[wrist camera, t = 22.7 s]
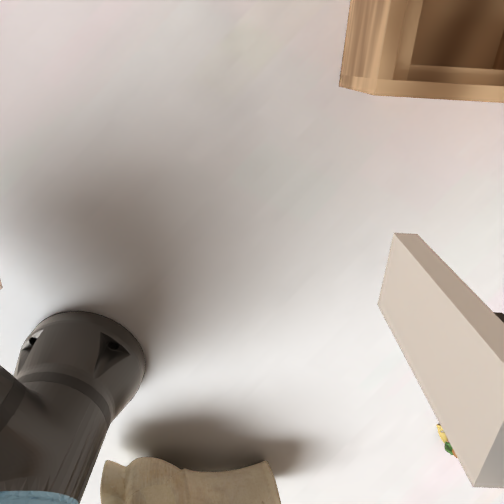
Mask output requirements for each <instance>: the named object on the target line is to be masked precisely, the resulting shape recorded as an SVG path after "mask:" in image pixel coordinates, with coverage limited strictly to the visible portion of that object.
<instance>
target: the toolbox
mask: <svg viewBox="0 0 504 504" xmlns="http://www.w3.org/2000/svg"><path fill="white" fill-rule="evenodd" d="M339 86H340V87H344V88H348V89H352V90H356V91H360V92H363V93H367V94H371V95H378V96H395V97H413V98H430V99H447V100H465V101H482V102H499V103H504V0H351V1H350V8H349V16H348V23H347V30H346V38H345V45H344V52H343V59H342V67H341V74H340V81H339Z"/></svg>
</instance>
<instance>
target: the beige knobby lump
mask: <svg viewBox="0 0 504 504" xmlns="http://www.w3.org/2000/svg"><path fill="white" fill-rule="evenodd" d="M100 496H101V504H281V501H280V497H279V493H278V488H277V485H276V481H275V478H274V475H273V473H272V470H271V468H270V466H269V463H268V462H267V461H263V462H260V463H257V464H254V465H251V466H248V467H244V468H240V469H235V470H229V471H221V472H199V471H192V470H188V469H186V468H184V469H179V468H178V467H176V466H174V465H172V464H171V463H169V462H166V461H165V460H162V459H158V458H155V457H153V458H152V457H141V458H137V459H135V460H133V461H132V462H131V463H130V464H129V465H128V466H127V467H125V466H122V465H120V464H118V463H116V462H113V461H110V460H107V461H106V462H105V464H104V468H103V473H102V478H101V487H100Z"/></svg>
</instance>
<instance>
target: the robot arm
mask: <svg viewBox="0 0 504 504" xmlns="http://www.w3.org/2000/svg"><path fill="white" fill-rule="evenodd" d="M0 289H2V284H1V280H0ZM378 307H379V308H380V310H381V312H382V314H383V316H384V318H385V320H386V322H387V324H388V326H389V328H390V329H391V331H392V333H393V335H394V337H395V339H396V341H397V343H398V345H399V347H400V349H401V351H402V352H403V354H404V356H405V358H406V360H407V362H408V364H409V366H410V368H411V370H412V372H413V373H414V375H415V377H416V379H417V381H418V383H419V385H420V387H421V389H422V391H423V393H424V395H425V396H426V398H427V400H428V402H429V404H430V406H431V408H432V410H433V412H434V414H435V416H436V417H437V419H438V421H439V423H440V425H441V427H442V429H443V431H444V433H445V435H446V437H447V438H448V440H449V442H450V444H451V446H452V448H453V450H454V452H455V454H456V456H457V458H458V460H459V461H460V463H461V465H462V467H463V469H464V471H465V473H466V475H467V477H468V479H469V481H470V482H471V484H472V486H473V487H487V488H504V314H502V313H495V312H492V310H491V309H490V308H489V307H488V306H487V305H486V304H485V303H484V302H483V301H482V300H481V299H480V298H479V297H478V296H477V295H476V294H475V293H474V292H473V291H472V290H471V289H470V288H469V287H468V286H467V285H466V284H465V283H464V282H463V281H462V280H461V279H460V278H459V277H458V276H457V275H456V274H455V272H454V271H453V270H452V269H451V268H450V267H449V266H448V265H447V264H446V263H445V262H444V261H443V260H442V259H441V258H440V257H439V256H438V255H437V254H436V253H435V252H434V251H433V250H432V249H431V248H430V247H429V246H428V245H427V244H426V243H425V242H424V241H423V240H422V239H421V238H420V237H419V236H418V235H417V234H404V233H394V234H393V239H392V243H391V247H390V252H389V256H388V261H387V265H386V269H385V274H384V278H383V283H382V287H381V291H380V296H379V300H378ZM144 372H145V358H144V354H143V351H142V349H141V347H140V345H139V343H138V342H137V340H136V339H135V338H134V337H133V335H132V334H131V333H130V332H128V331H127V330H126V329H125V328H124V327H122V326H121V325H119V324H118V323H116V322H114V321H113V320H111V319H108V318H106V317H103V316H100V315H97V314H93V313H88V312H64V313H60V314H56V315H53V316H51V317H49V318H47V319H45V320H43V321H42V322H41V323H40V324H38V325H37V326H36V328H35V329H34V330H33V331H32V332H31V334H30V335H29V336H28V337H27V339H26V340H25V342H24V344H23V346H22V348H21V351H20V354H19V358H18V361H17V365H16V368H15V372H14V376H13V375H11V374H10V373H9V372H8V371H7V370H5V369H4V368H3V367H2V366H0V504H79V503H80V501H81V498H82V496H83V493H84V490H85V488H86V485H87V483H88V480H89V477H90V475H91V472H92V470H93V467H94V465H95V462H96V459H97V457H98V454H99V452H100V449H101V446H102V444H103V441H104V439H105V436H106V433H107V430H108V428H109V426H110V423H111V422H112V421H113V420H114V419H115V418H116V417H117V415H118V414H119V413H120V412H121V411H122V410H123V409H124V407H125V406H126V405H127V404H128V403H129V402H130V401H131V399H132V398H133V397H134V396H135V394H136V393H137V391H138V389H139V387H140V384H141V381H142V378H143V376H144Z"/></svg>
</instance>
